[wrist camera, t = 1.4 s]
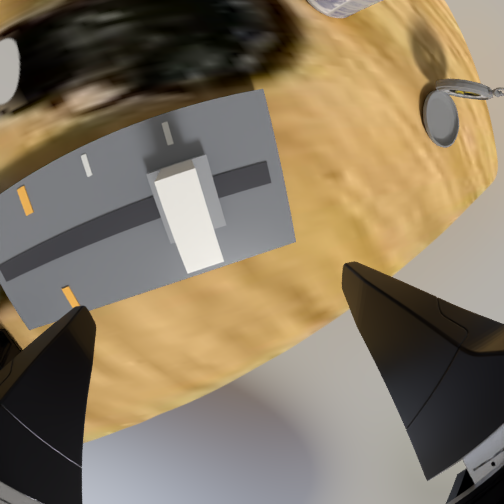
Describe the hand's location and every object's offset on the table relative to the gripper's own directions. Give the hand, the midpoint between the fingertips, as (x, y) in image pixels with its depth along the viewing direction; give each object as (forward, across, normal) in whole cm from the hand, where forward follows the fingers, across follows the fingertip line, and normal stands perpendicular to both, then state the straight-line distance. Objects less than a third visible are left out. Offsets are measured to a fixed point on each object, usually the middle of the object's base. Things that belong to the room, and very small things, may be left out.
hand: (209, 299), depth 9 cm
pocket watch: (+18, -25, -6) cm, 31 cm away
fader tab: (+11, +2, 0) cm, 11 cm away
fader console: (+13, +8, 0) cm, 15 cm away
